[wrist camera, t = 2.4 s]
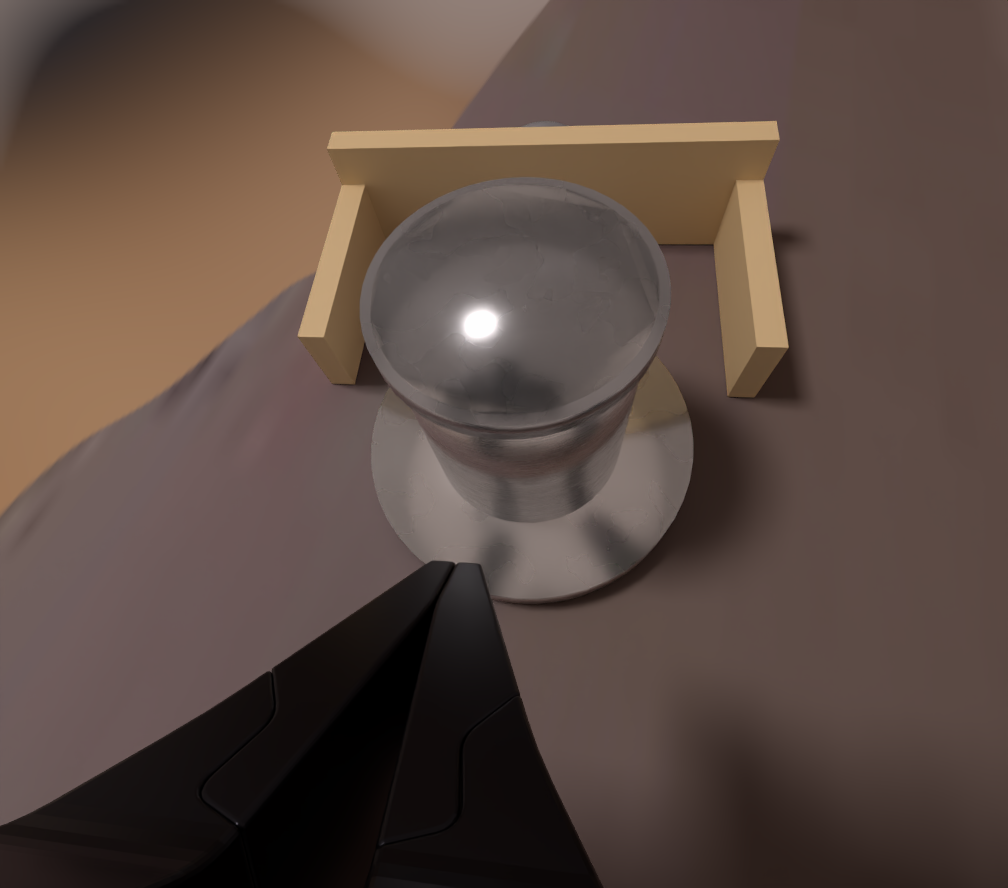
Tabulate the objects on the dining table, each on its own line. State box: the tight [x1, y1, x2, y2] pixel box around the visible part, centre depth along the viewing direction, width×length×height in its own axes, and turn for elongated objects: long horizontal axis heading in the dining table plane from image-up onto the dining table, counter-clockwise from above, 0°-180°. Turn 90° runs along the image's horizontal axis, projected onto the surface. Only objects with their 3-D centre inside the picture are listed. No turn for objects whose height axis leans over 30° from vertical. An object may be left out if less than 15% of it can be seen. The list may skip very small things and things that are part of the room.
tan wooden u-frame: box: [298, 121, 789, 397], centre depth 25 cm, size 11×20×6 cm, turn 85°
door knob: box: [360, 177, 693, 604], centre depth 20 cm, size 14×14×11 cm
